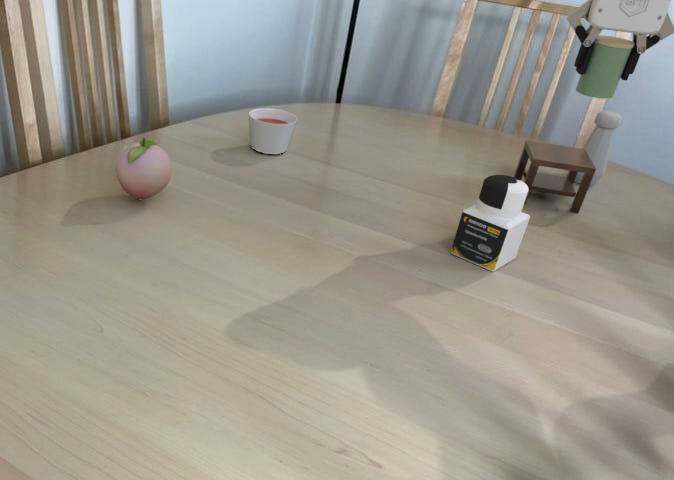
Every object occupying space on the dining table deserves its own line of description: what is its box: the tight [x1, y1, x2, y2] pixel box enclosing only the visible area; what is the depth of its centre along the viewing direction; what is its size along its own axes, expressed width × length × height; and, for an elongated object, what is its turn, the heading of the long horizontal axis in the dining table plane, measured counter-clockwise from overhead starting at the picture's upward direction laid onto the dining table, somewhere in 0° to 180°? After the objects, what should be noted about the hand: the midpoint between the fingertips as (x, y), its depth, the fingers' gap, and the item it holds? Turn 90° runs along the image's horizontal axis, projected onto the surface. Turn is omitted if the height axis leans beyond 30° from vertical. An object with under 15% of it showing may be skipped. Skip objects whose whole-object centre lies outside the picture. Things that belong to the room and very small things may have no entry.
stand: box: [513, 139, 596, 214], centre depth 130 cm, size 10×10×8 cm
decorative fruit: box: [115, 137, 173, 200], centre depth 114 cm, size 9×8×10 cm
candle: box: [248, 107, 298, 154], centre depth 139 cm, size 9×9×6 cm
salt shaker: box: [574, 110, 623, 186], centre depth 137 cm, size 6×6×13 cm
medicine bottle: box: [450, 174, 531, 273], centre depth 107 cm, size 7×7×12 cm
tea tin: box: [575, 34, 635, 100], centre depth 115 cm, size 6×6×8 cm
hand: (601, 74), depth 116 cm, fingers closed on tea tin, 5 cm apart
